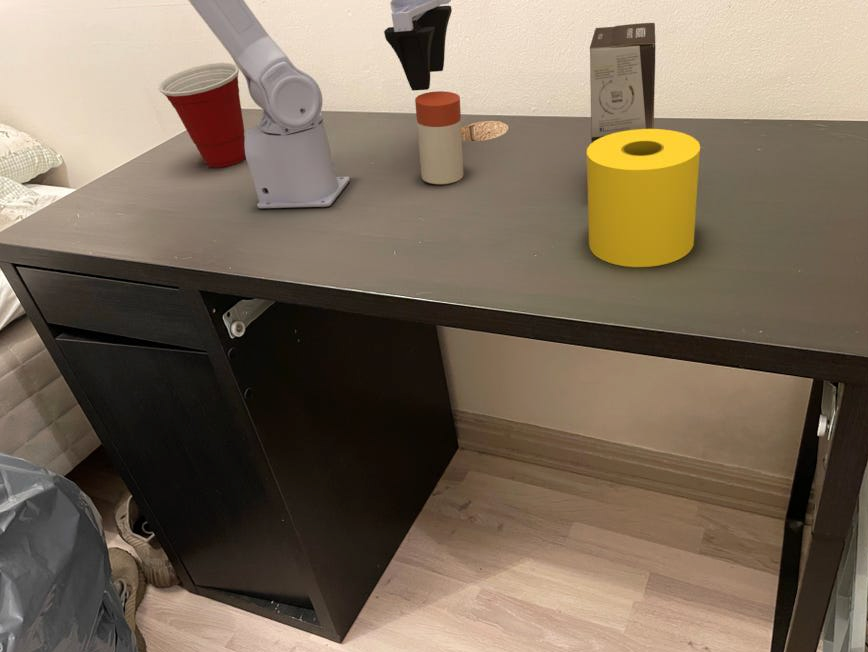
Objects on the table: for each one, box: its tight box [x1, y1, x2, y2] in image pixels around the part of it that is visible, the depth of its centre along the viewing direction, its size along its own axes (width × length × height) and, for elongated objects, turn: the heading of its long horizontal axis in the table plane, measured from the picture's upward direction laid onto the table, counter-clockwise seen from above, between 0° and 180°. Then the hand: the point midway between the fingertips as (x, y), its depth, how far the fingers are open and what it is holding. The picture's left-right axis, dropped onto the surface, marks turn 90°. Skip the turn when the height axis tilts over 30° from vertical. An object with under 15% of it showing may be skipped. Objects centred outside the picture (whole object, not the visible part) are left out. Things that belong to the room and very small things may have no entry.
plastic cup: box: [157, 62, 246, 168], centre depth 102 cm, size 11×11×12 cm
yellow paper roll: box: [586, 128, 701, 268], centre depth 69 cm, size 10×10×9 cm
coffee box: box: [589, 22, 656, 144], centre depth 79 cm, size 9×6×16 cm
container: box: [414, 90, 464, 185], centre depth 88 cm, size 5×5×10 cm
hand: (428, 79), depth 91 cm, fingers open, 7 cm apart
